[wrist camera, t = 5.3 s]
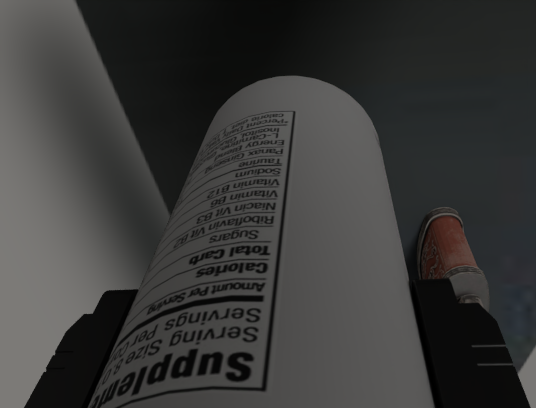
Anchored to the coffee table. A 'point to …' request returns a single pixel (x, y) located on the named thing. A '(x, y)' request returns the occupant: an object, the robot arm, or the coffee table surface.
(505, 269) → the coffee table surface
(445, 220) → the lighter
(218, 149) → the energy drink can
